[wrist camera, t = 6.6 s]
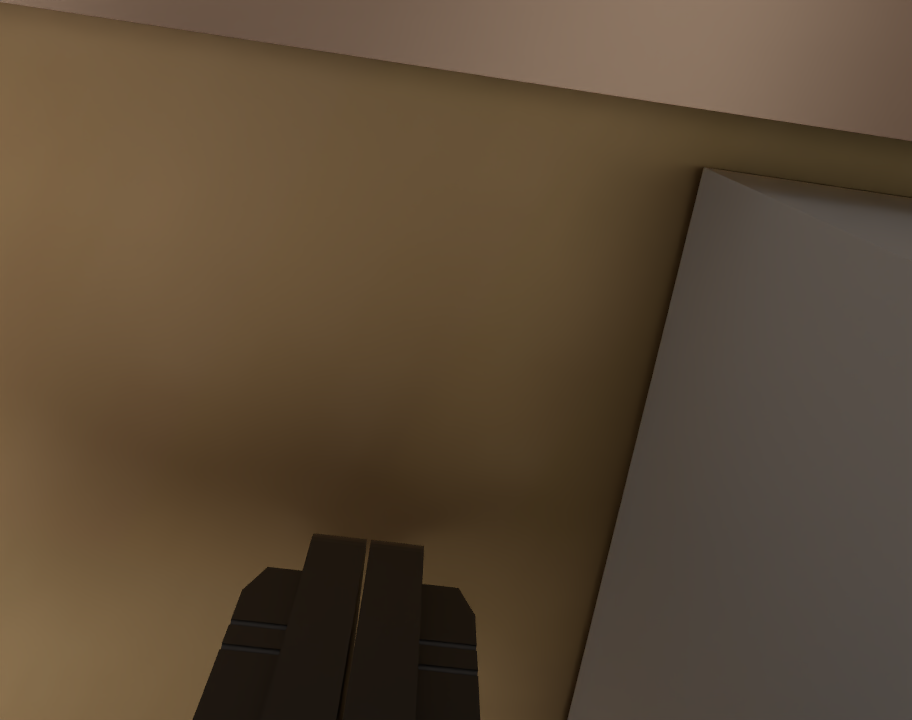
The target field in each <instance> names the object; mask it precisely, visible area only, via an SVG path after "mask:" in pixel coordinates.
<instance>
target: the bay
mask: <svg viewBox="0 0 912 720" xmlns="http://www.w3.org/2000/svg"><path fill="white" fill-rule="evenodd" d="M0 2H4V3H10V4H17V5H23V6H30V7H37V8H43V9H50V10H56V11H63V12H69V13H76V14H82V15H89V16H96V17H102V18H109V19H115V20H122V21H128V22H135V23H141V24H148V25H155V26H161V27H168V28H174V29H181V30H187V31H194V32H200V33H207V34H214V35H220V36H227V37H233V38H240V39H246V40H253V41H259V42H266V43H273V44H279V45H286V46H292V47H299V48H305V49H312V50H318V51H325V52H331V53H338V54H345V55H351V56H358V57H364V58H371V59H377V60H384V61H390V62H397V63H404V64H410V65H417V66H423V67H430V68H436V69H443V70H449V71H456V72H463V73H469V74H476V75H482V76H489V77H495V78H502V79H508V80H515V81H522V82H528V83H535V84H541V85H548V86H554V87H561V88H567V89H574V90H581V91H587V92H594V93H600V94H607V95H613V96H620V97H626V98H633V99H640V100H646V101H653V102H659V103H666V104H672V105H679V106H685V107H692V108H699V109H705V110H712V111H718V112H725V113H731V114H738V115H744V116H751V117H758V118H764V119H771V120H777V121H784V122H790V123H797V124H803V125H810V126H817V127H823V128H830V129H836V130H843V131H849V132H856V133H862V134H869V135H875V136H882V137H889V138H895V139H902V140H908V141H912V0H0Z"/></svg>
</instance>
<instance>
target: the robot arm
mask: <svg viewBox="0 0 912 720" xmlns="http://www.w3.org/2000/svg"><path fill="white" fill-rule="evenodd" d="M366 543H367V540H366V539H357V538H348V537H340V536H331V535H322V534H313V536H312V539H311V543H310V546H309V550H308V553H307V557H306V561H305V564H304V568H303V571H299V570H290V569H281V568H273V567H267V568H266V569H265V570H264V571H263V572H262V573H261V574H259V575H258V576H257V577H256V578H255V579H254V580H253V581H252V582H250V583H249V584H248V585H247V586H246V587H245V588H244V589H243V590H242V592H241V595H240V597H239V600H238V603H237V605H236V608H235V610H234V613H233V616H232V618H231V624H230V625H229V626H228V629H227V631H226V634H225V637H224V639H223V642H222V647H221V649H220V650H219V652H218V655H217V657H216V660H215V663H214V665H213V668H212V671H211V673H210V676H209V678H208V681H207V684H206V686H205V689H204V692H203V694H202V697H201V699H200V702H199V705H198V707H197V710H196V712H195V715H194V718H193V720H480V706H479V685H478V676H477V672H478V664H477V651H476V645H477V643H476V623H475V614H474V613H473V611H472V609H471V608H470V606H469V604H468V603H467V601H466V600H465V598H464V596H463V595H462V593H461V591H460V590H459V588H453V587H444V586H435V585H426V584H422V576H423V556H424V546H420V545H411V544H402V543H394V542H385V541H376V540H371V544H370V551H369V557H368V563H367V570H366V576H365V582H364V589H363V595H362V601H361V608H360V614H359V620H358V612H359V603H360V595H361V587H362V578H363V570H364V561H365V553H366ZM357 620H358V627H357ZM356 628H357V633H356ZM355 637H356V639H355ZM354 644H355V646H354Z"/></svg>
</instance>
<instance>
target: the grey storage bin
mask: <svg viewBox="0 0 912 720" xmlns="http://www.w3.org/2000/svg"><path fill="white" fill-rule="evenodd" d="M568 720H912V198H908V197H901V196H894V195H887V194H881V193H874V192H867V191H860V190H854V189H847V188H840V187H833V186H827V185H820V184H813V183H806V182H800V181H793V180H786V179H779V178H773V177H766V176H759V175H752V174H746V173H739V172H732V171H725V170H719V169H712V168H705V167H704V169H703V173H702V177H701V181H700V185H699V189H698V193H697V197H696V201H695V205H694V209H693V213H692V217H691V221H690V225H689V229H688V233H687V237H686V241H685V246H684V250H683V254H682V258H681V262H680V266H679V270H678V274H677V278H676V282H675V286H674V290H673V294H672V298H671V302H670V306H669V310H668V314H667V318H666V323H665V327H664V331H663V335H662V339H661V343H660V347H659V351H658V355H657V359H656V363H655V367H654V371H653V375H652V379H651V383H650V387H649V391H648V395H647V400H646V404H645V408H644V412H643V416H642V420H641V424H640V428H639V432H638V436H637V440H636V444H635V448H634V452H633V456H632V460H631V464H630V468H629V472H628V477H627V481H626V485H625V489H624V493H623V497H622V501H621V505H620V509H619V513H618V517H617V521H616V525H615V529H614V533H613V537H612V541H611V545H610V549H609V554H608V558H607V562H606V566H605V570H604V574H603V578H602V582H601V586H600V590H599V594H598V598H597V602H596V606H595V610H594V614H593V618H592V622H591V626H590V630H589V635H588V639H587V643H586V647H585V651H584V655H583V659H582V663H581V667H580V671H579V675H578V679H577V683H576V687H575V691H574V695H573V699H572V703H571V707H570V712H569V716H568Z"/></svg>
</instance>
